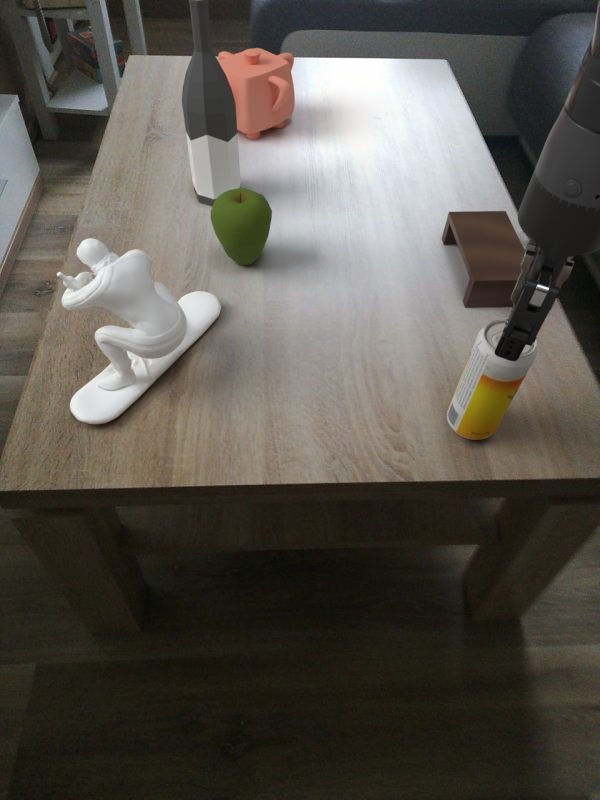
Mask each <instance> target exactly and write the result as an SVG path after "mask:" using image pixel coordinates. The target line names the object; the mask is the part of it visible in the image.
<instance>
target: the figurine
mask: <svg viewBox="0 0 600 800" xmlns="http://www.w3.org/2000/svg"><path fill="white" fill-rule="evenodd" d="M76 256H77V258H78V259H79V260H80V261H81V262H82V264H83V265H86V266H87V267H89V269H90V272H89V271H82V272H79V273H78V274H77V275H76V276H75V277H73V276H72V275H65V274H64V273H62V272H61V271H58V272H57V273H56V276H57V277H58V278H59V279H61V280H62V285H63V286H64V287H66V290H65V291H64V293H63V294H62V297H61V305H62V308H64V309H65V310H67V311H76V310H85V309H88V308H94V307H97V306H98V307H101V308H102V309H105V310H107V311H109V312H110V313H113V314H114V315H116V316H118V317H119V318H121V319H122V320H124V321H126V322H127V323H128V324H129V325H130V326H131V327H132V328H131V327H122V326H118V325H112V324H108V325H103V326H101V327H99V328H98V329H96V331H95V333H94V340H95V343H96V344H97V346H98V347H99V349H100V350H101V352H102V353H103V354H104V355H105V356H106V357H107V359H108V360H109V362H110V363H109V365H108V366H106V367H105V368H104V369H103V370H102V371H101V372H100V373H98V374H97V375H95V377H93V378H92V379H91V380H90V381H88V382H87V383H86V384H85V385H83V386H82V387H81V388H80V389H78V390H77V391H76V392H75V393H74V395H73V396H72V397H71V399H70V403H69V409H70V412H71V413H72V415H73V417H75V418H76V420H77V421H79V422H81V423H85V424H89V425H102V424H106V423H109V422H111V421H113V420H115V419H117V418H118V417H119V416H120V415H122V414H123V413H124V412H125V411H126V410H127V409H128V408H129V407H130V406H131V405H132V404H134V403H135V402H136V401H137V400H139V398H140V397H141V396H142V395H143V394H144V393H145V392H146V391H147V390H148V389H149V388H150V387H151V386H152V385H153V384H154V383H155V382H156V381H157V380H158V378H160V377H161V376H162V375H163V374H164V373H165V372H166V371H167V370H168V369H169V368H170V367H171V366H173V364H174V363H175V362H176V361H177V360H178V359H179V358H180V357H182V355H183V354H184V353H185V352H186V351H187V350H188V349H189V348H190V347H191V346H192V345H193V344H195V342H196V341H197V340H199V338H200V337H202V335H203V334H204V333H205V332H206V331H207V330H208V329H209V328H210V327H211V326H212V325H213V323H214V322H215V321H216V320H217V319H218V317H220V314H221V310H222V308H221V307H222V306H221V302H220V300H219V299H218V297H217V296H215V294H213V293H211V292H208V291H203V290H197V291H191V292H188V293H187V294H185V295H183V296H181V297H180V299H179V300H178V301H177V300H176V298H175V297H174V296H173V294H172V293H171V292H170V290H169V289H168V288H167V287H166V285H165V284H164V283H163V282H160V281H154V272H153V267H152V266H153V265H152V259H151V257H150V256H149V254H147V253H146V252H145V251H143V250H141V249H137V248H133V249H130V250H128V251H126V252H125V253H124V254H122V255H121V256H119V255H118V254H117V253H115V252H113V251H109V250H108V248H107V246H106V245H105V243H103V241H101V240H99V239H96V238H94V237H93V238H90V237H89V238H86V239H83V240H82V241H81V242H80V244H79V246H78V247H77V249H76ZM93 276H95V277H93Z"/></svg>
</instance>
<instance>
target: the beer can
mask: <svg viewBox="0 0 600 800" xmlns="http://www.w3.org/2000/svg"><path fill="white" fill-rule="evenodd" d="M506 319H507V318H497V319H493V320H491V321H490V322H488V323H487V324H486V325H485V326H484V327H483V328H481V329H480V330H479V331H478V333H477V335H476V338H475V340H474V343H473V345H472V348H471V350H470V352H469V356H468V358H467V360H466V363H465V365H464V367H463V370H462V372H461V375H460V377H459V380H458V383H457V385H456V388H455V390H454V392H453V395H452V397H451V400H450V402H449V404H448V407H447V410H446V420H447V423H448V424H449V426H450V428H451V429H452V430H453V431H454V432H455V433H456V434H457V435H459V436H460V437H461V438H464V439H467V440H473V441H475V440H477V441H478V440H485V439H488V438H490V437H491V436H493V435H494V433H496V431H497V430H498V427H499V425H500V424H501V422H502V420H503V418H504V416H505V414H506V412H507V411H508V409H509V407H510V405H511V403H512V401H513V400H514V398H515V397H516V394H517V393H518V391H519V389H520V387H521V385H522V383H523V382H524V379H525V378H526V376H527V375H528V372H529V370H530V368H531V366H532V365H533V363H534V360H535V359H536V358H537V355H538V347H537V346H538V339H537V338H536V340H535V342H533V344H532V345H531V346H529V345H525V347H524V349H523V351H522V353H521V355H520V357H519V359H518V360H517V361H509V360H507V359H504V358H501V357H498V356H496V355H495V353H494V352H495V349H496V346H497V344H498V342H499V340H500V338H501V335H502V333H503V329H504V327H505V321H506Z"/></svg>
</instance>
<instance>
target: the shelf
mask: <svg viewBox="0 0 600 800" xmlns="http://www.w3.org/2000/svg"><path fill="white" fill-rule="evenodd" d="M520 240H521V239H520V238H519V236H518V233H517V232H516V230H515V228H514V225H513V223H512V221H511V219H510V217H509V215H508V212H507V211H506V210H477V211H475V210H474V211H471V210H470V211H468V210H467V211H464V210H463V211H448V213H447V218H446V221H445V225H444V228H443V231H442V236H441V241H442V245H445V246H446V245H451V246H452V245H456V246H457V247H458V250H459V253H460V255H461V258H462V261H463V264H464V266H465V269H466V272H467V275H468V277H469V281H468V284H467V286H466V288H465V292H464V295H463V298H462V302H463V305H464V308H505V307H507V308H508V307H509V308H510V307H511V308H512V307H513V305H514V303H513V302H512V300H511V294H512V292H513V290H514V287H515V285H516V282H517V280H518V277H519V275H520V272H521V268H520V264H521V262H522V259H523V257H524V254H525V252H526V250H525V248H524V246H523V244H522V241H520Z"/></svg>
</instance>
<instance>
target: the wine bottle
mask: <svg viewBox="0 0 600 800" xmlns="http://www.w3.org/2000/svg"><path fill="white" fill-rule="evenodd" d="M188 3H189V11H190V22H191V31H192V39H193V40H192V41H193V52H192V54H191V55H192V56H191V58H190V61H189V64H188V66H187V68H186V71H185V75H184V78H183V84H182V91H181V93H182V94H181V106H182V107H181V108H182V113H183V120H184V127H185V136H186V143H187V150H188V158H189V164H190V171H191V179H192V185H193V191H194V195H195V196H196V198H197V200H198V202H199V203H200V204H203V205H208V206H210V207H213V204H214V201H215V200H216V199H217V198H218V196H220V195H221V194H222V193H224V192H226V191H228V190H231V189H237V188H242V184H241V169H240V154H239V153H240V152H239V138H238V137H239V136H238V135H239V134H238V130H237V119H236V103H235V100H234V96H233V92H232V89H231V86H230V84H229V81H228V79H227V76H226V74H225V72H224V71H223V69H222V67H221V65H220V63H219V62H218V61H219V59H218V57H217V56H216V55H215V53H214V50H213V43H212V33H211V24H210V23H211V21H210V11H209V0H188Z"/></svg>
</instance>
